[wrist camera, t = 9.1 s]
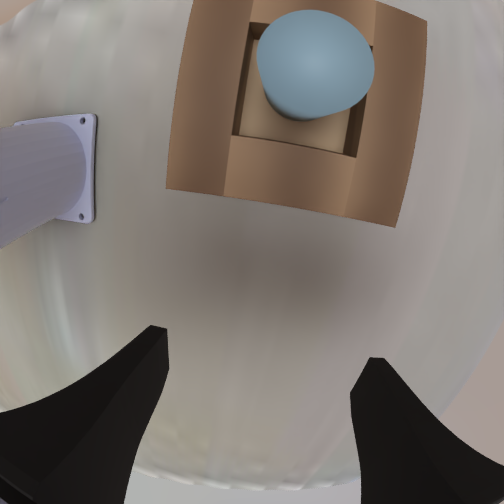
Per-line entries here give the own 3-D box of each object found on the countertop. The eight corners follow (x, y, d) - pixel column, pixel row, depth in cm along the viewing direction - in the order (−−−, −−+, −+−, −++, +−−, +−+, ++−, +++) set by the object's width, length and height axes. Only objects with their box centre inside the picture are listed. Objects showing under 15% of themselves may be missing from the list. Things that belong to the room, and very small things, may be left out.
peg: (262, 119, 15) (254, 108, 9) (265, 54, 13) (258, 5, 7) (333, 125, 15) (372, 121, 8) (335, 61, 13) (373, 20, 7)
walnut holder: (187, 176, 17) (165, 188, 14) (214, 2, 13) (199, -24, 9) (373, 208, 17) (395, 227, 14) (401, 37, 12) (427, 21, 9)
